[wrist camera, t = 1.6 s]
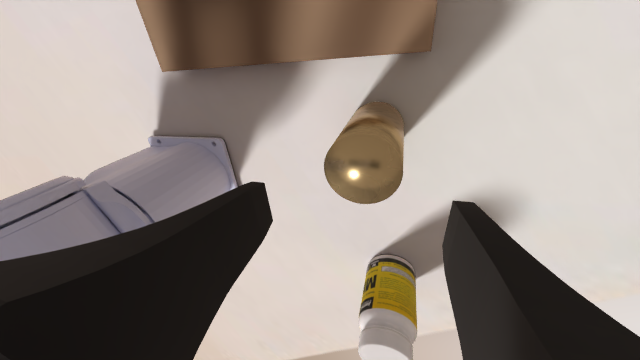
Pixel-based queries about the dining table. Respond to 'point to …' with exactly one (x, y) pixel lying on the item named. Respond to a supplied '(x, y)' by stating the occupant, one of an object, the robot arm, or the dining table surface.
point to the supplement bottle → (388, 310)
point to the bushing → (368, 155)
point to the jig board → (283, 30)
